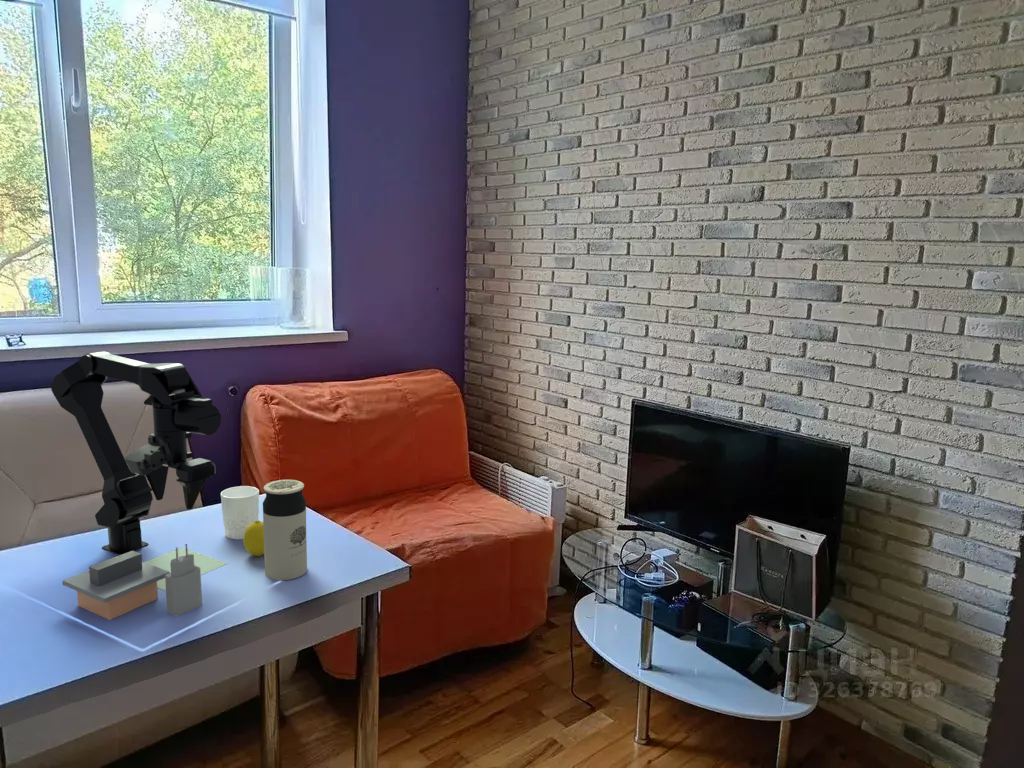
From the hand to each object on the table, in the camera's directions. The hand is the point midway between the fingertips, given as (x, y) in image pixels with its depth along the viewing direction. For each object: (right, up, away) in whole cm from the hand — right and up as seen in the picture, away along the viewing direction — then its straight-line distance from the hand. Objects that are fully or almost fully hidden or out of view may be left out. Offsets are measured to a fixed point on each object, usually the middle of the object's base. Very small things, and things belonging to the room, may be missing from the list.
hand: (174, 504), depth 144 cm
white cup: (+7, -10, +16) cm, 20 cm away
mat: (+1, -13, -2) cm, 13 cm away
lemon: (+15, -12, +5) cm, 20 cm away
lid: (-2, -11, -16) cm, 20 cm away
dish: (-3, -15, -16) cm, 22 cm away
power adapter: (+10, -16, -17) cm, 25 cm away
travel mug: (+23, -13, -1) cm, 26 cm away
